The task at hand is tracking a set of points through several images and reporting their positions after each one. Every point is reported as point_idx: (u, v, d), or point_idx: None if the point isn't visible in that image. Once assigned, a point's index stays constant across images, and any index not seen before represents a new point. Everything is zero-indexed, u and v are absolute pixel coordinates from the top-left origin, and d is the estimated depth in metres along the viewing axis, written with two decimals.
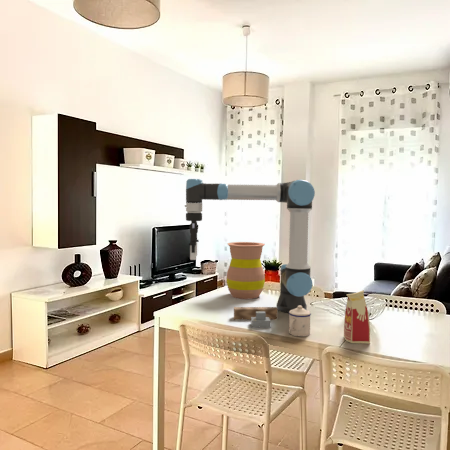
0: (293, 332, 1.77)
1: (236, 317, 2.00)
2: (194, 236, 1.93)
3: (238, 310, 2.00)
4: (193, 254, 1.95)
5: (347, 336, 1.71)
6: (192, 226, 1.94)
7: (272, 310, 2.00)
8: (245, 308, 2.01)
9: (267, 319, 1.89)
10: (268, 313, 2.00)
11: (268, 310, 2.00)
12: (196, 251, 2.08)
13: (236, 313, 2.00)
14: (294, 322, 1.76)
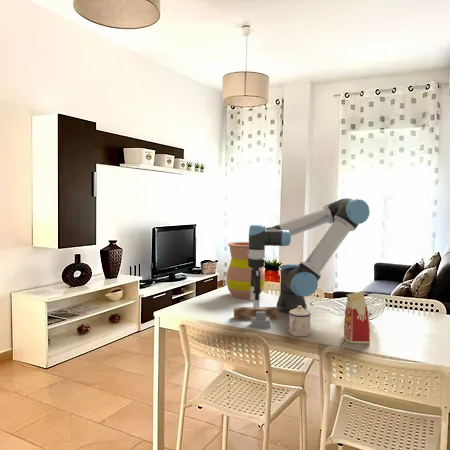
0: (293, 332, 1.77)
1: (236, 317, 2.00)
2: (258, 284, 1.92)
3: (238, 310, 1.99)
4: (256, 301, 1.94)
5: (347, 336, 1.71)
6: (256, 274, 1.94)
7: (272, 310, 2.01)
8: (245, 308, 2.01)
9: (267, 319, 1.89)
10: (268, 313, 2.01)
11: (268, 310, 2.00)
12: None
13: (236, 313, 1.99)
14: (294, 322, 1.76)
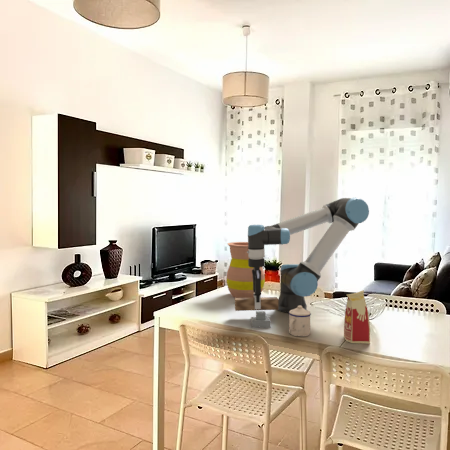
0: (293, 332, 1.77)
1: (237, 308, 1.99)
2: (259, 287, 1.96)
3: (239, 301, 1.99)
4: (258, 303, 1.99)
5: (347, 336, 1.71)
6: (257, 277, 1.95)
7: (273, 300, 2.00)
8: (246, 299, 2.01)
9: (267, 319, 1.89)
10: (269, 303, 2.00)
11: (269, 300, 2.00)
12: None
13: (237, 304, 1.99)
14: (294, 322, 1.76)
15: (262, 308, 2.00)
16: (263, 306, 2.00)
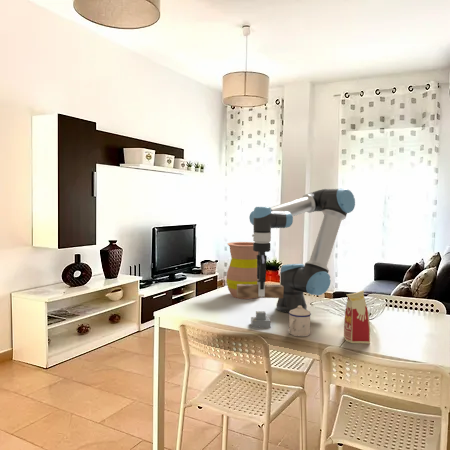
0: (293, 332, 1.77)
1: (239, 294, 1.87)
2: (264, 273, 1.83)
3: (242, 287, 1.87)
4: (262, 291, 1.87)
5: (347, 336, 1.71)
6: (262, 262, 1.82)
7: (278, 288, 1.88)
8: (249, 285, 1.88)
9: (267, 319, 1.89)
10: (274, 290, 1.88)
11: (274, 287, 1.88)
12: None
13: (239, 290, 1.87)
14: (294, 322, 1.76)
15: (266, 296, 1.88)
16: (266, 293, 1.88)
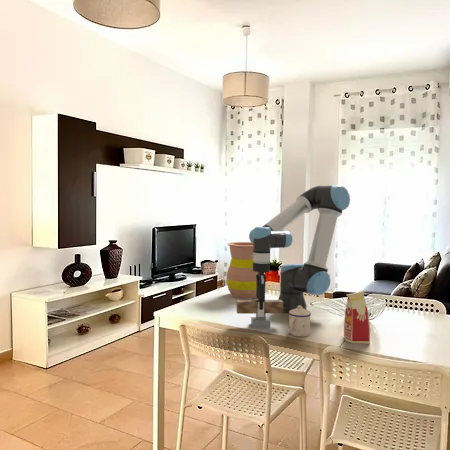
0: (293, 332, 1.77)
1: (239, 310, 1.87)
2: (263, 293, 1.84)
3: (241, 303, 1.87)
4: (261, 311, 1.87)
5: (347, 336, 1.71)
6: (261, 283, 1.83)
7: (277, 303, 1.88)
8: (248, 301, 1.89)
9: (267, 319, 1.89)
10: (273, 306, 1.88)
11: (273, 303, 1.88)
12: None
13: (239, 306, 1.87)
14: (294, 322, 1.76)
15: (266, 311, 1.88)
16: (266, 309, 1.88)
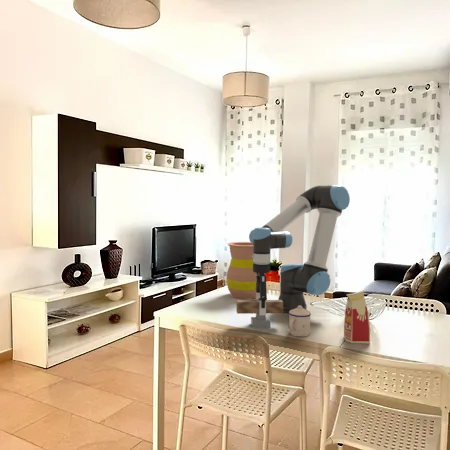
0: (293, 332, 1.77)
1: (239, 310, 1.87)
2: (265, 291, 1.81)
3: (241, 303, 1.87)
4: (263, 309, 1.83)
5: (347, 336, 1.71)
6: (262, 280, 1.82)
7: (277, 303, 1.88)
8: (248, 301, 1.89)
9: (267, 319, 1.89)
10: (273, 306, 1.88)
11: (273, 303, 1.88)
12: None
13: (239, 306, 1.87)
14: (294, 322, 1.76)
15: (266, 311, 1.88)
16: (266, 309, 1.88)
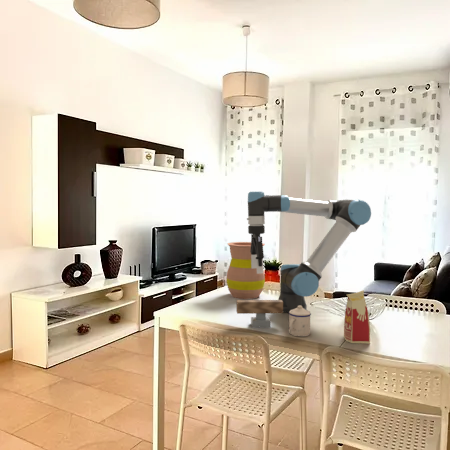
0: (293, 332, 1.77)
1: (239, 310, 1.87)
2: (261, 250, 1.91)
3: (241, 303, 1.87)
4: (260, 268, 1.93)
5: (347, 336, 1.71)
6: (258, 239, 1.92)
7: (277, 303, 1.88)
8: (248, 301, 1.89)
9: (267, 319, 1.89)
10: (273, 306, 1.88)
11: (273, 303, 1.88)
12: (256, 263, 2.07)
13: (239, 306, 1.87)
14: (294, 322, 1.76)
15: (266, 311, 1.88)
16: (266, 309, 1.88)
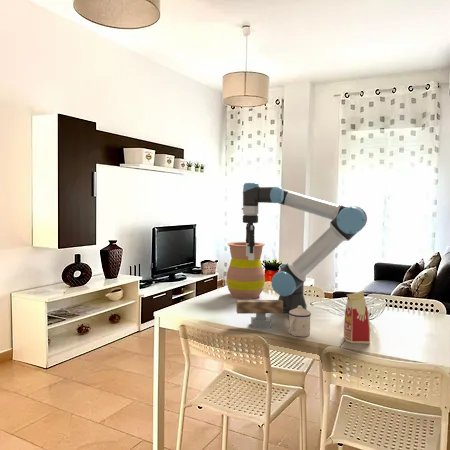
0: (293, 332, 1.77)
1: (239, 310, 1.87)
2: (253, 237, 2.02)
3: (241, 303, 1.87)
4: (251, 255, 2.04)
5: (347, 336, 1.71)
6: (250, 228, 2.04)
7: (277, 303, 1.88)
8: (248, 301, 1.89)
9: (267, 319, 1.89)
10: (273, 306, 1.88)
11: (273, 303, 1.88)
12: None
13: (239, 306, 1.87)
14: (294, 322, 1.76)
15: (266, 311, 1.88)
16: (266, 309, 1.88)
